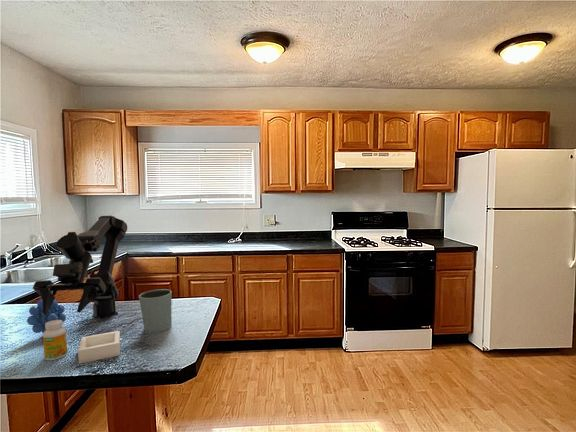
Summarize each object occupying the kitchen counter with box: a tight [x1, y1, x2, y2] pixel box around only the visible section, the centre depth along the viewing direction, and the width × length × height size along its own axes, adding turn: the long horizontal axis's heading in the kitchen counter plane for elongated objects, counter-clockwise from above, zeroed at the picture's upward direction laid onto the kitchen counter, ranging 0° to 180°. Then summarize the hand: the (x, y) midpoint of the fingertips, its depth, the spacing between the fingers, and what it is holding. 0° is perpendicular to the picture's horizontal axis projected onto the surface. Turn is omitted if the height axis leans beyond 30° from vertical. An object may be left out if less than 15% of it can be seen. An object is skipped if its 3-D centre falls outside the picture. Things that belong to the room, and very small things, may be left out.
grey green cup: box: [138, 288, 173, 335], centre depth 113 cm, size 10×10×12 cm
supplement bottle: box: [42, 320, 68, 361], centre depth 95 cm, size 5×5×10 cm
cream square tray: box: [77, 330, 121, 364], centre depth 97 cm, size 10×10×4 cm
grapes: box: [26, 299, 67, 334], centre depth 110 cm, size 12×7×12 cm, turn 156°
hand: (61, 313), depth 99 cm, fingers open, 9 cm apart
